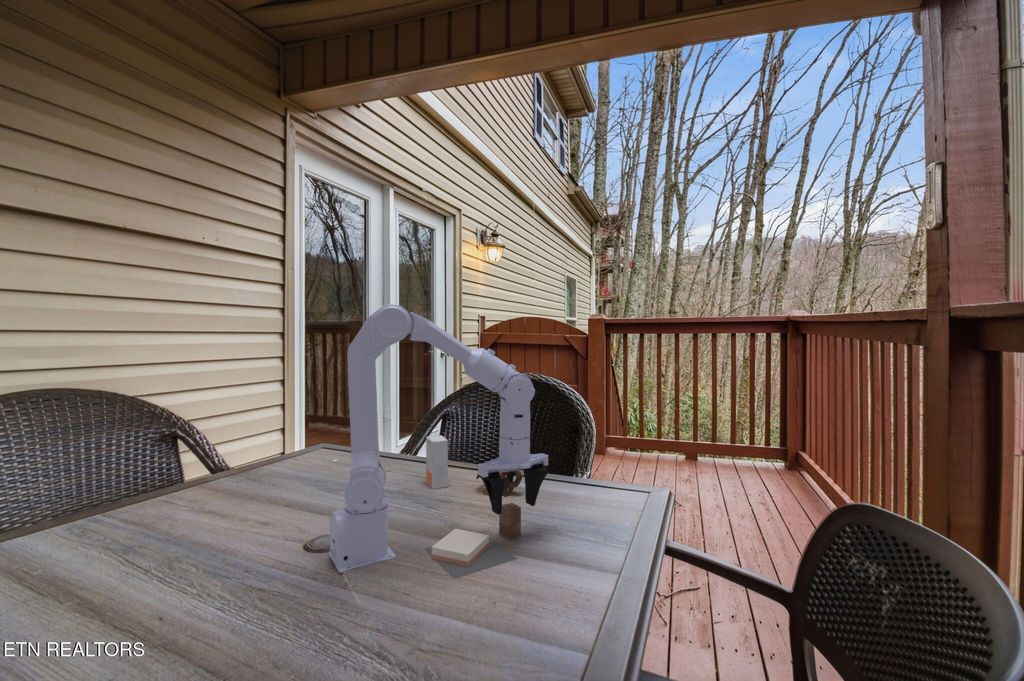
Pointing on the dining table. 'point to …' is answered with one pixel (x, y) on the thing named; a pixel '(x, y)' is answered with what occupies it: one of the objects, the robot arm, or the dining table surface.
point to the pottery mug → (507, 481)
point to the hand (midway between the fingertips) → (513, 508)
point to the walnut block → (510, 521)
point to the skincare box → (437, 461)
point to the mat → (478, 560)
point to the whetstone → (460, 547)
